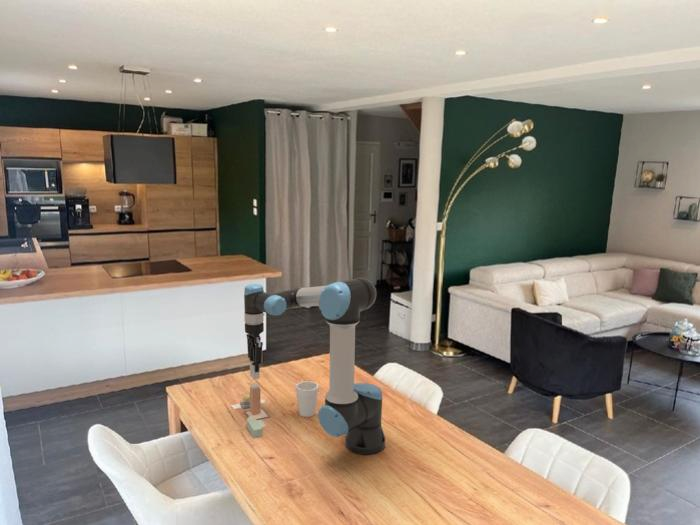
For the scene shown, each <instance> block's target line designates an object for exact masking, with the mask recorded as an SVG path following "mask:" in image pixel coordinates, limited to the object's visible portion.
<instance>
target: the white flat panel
mask: <svg viewBox="0 0 700 525" xmlns="http://www.w3.org/2000/svg"><path fill="white" fill-rule="evenodd" d="M260 400H261V404H264V403H266V401H265V400H264V399H263V398H260ZM230 406H231V407H230V408H231V409H232V410H236V409H241V408H242V409H243V410H244V411H243V413H244V414H245V416H246V417H247V418H249V417H252V418H254V417H255V418H256V420H257V421H258V422H259V424H260V425H261V427H262V428H264V427H267V425H266V424H265V423H264V421H263V420H265V419H268V418H271V416H270V414H269V413H268V412H267V411H266V410H265V408H263V407H261V413H259V414H255V415H252V413H251V412H250V401H243V400H242V401H239V403H237V404H232V405H230ZM246 409H247V410H246ZM248 409H249V410H248Z"/></svg>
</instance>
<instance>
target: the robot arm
mask: <svg viewBox="0 0 700 525" xmlns="http://www.w3.org/2000/svg"><path fill="white" fill-rule="evenodd" d="M243 290H244V293H243V294H244V295H243V299H244V301H243V302H244V304H243V305H244V333H246V342H247V345H246V347H247V358H249V359H248V360H249V376H250V377H251V378H252V380H254V381H255V380H260V377H261V375H260V374H261V373H260V372H261V371H260V369H261V368H260V365H262V363H263V361H262V360H263V359H262V358H263V357H262V356H263V345H264V343H263V341H261V339H262V338H261V336H260V334H261V333H263V332H264V331H265V329H264V326H265V324H264V316H265V313H266V314H268V315H271V316H281V315H282V314H283V313H284V312H286V310H291V309H296V308H303V307H304V308H305V307H318V308H319V311H321V313H320V314H321V315H322V316H323V317H324V318H325V322H326V324H327V325H329V390H328V391H327V392H326V393H325V395H324V405H321V407H320V408H319V409H318V412H317V417H318V422H319V424H320V426H321V428H322V429H323V431H324V432H325V433H326V434H328V435H330V436H331V437H335V438H337V437H342V436H345V437H344V444H345V447H346V449H348V450H349V451H350V452H352V453H355V454H358V455H366V456H367V455H375V454H377V453H378V454H379V453H380V452H382V451H383V450H384V449H385V447H386V437H385V433H384V430H383V427H382V412H383V410H382V409H383V399H384V398H383V391H382V389H381V387H379V386H378V385H375V384H372V383H369V382H368V383H367V382H357V383H355V359H356V358H355V356H356V351H355V350H356V326H357V325H358V324H359V323H360V322H361V320H360V319H361V312H363V311H365V310H368V309H369V308H371V307H372V306H373V305H374V304H375V302H376V299H377V288H376V287H375V285H374V283H373V282H372V281H371V280H370V279H368V278H366V277H365V278H364V277H356V278H355V277H354V278H352V279H351V278H350V279H346V280H340V281H335V282H333V283H330V284H328V285H320V286H319V285H318V286H310V287H295V288H292V289H287V290H282V291H277V292H273V293H269V292H265V291H264V285H262V284H258V283H252V284H251V283H250V284H247V285H245V286H244V289H243Z"/></svg>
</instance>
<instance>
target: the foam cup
mask: <svg viewBox="0 0 700 525" xmlns="http://www.w3.org/2000/svg"><path fill="white" fill-rule="evenodd" d="M319 391H320V390H319V383H317V382H314V381H310V380H309V381H306V380H305V381H301V382H297V383H296V385H295V393H296V401H297V407H298V415H300V417H303V418H309V417H310V418H311V417H313V416H314V415H315V414H316V408H317V407H316V406H317V402H318V393H319Z"/></svg>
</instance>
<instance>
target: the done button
mask: <svg viewBox="0 0 700 525" xmlns="http://www.w3.org/2000/svg"><path fill="white" fill-rule="evenodd" d="M243 401H250V392H248V393H244V394H242V402H243Z"/></svg>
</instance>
